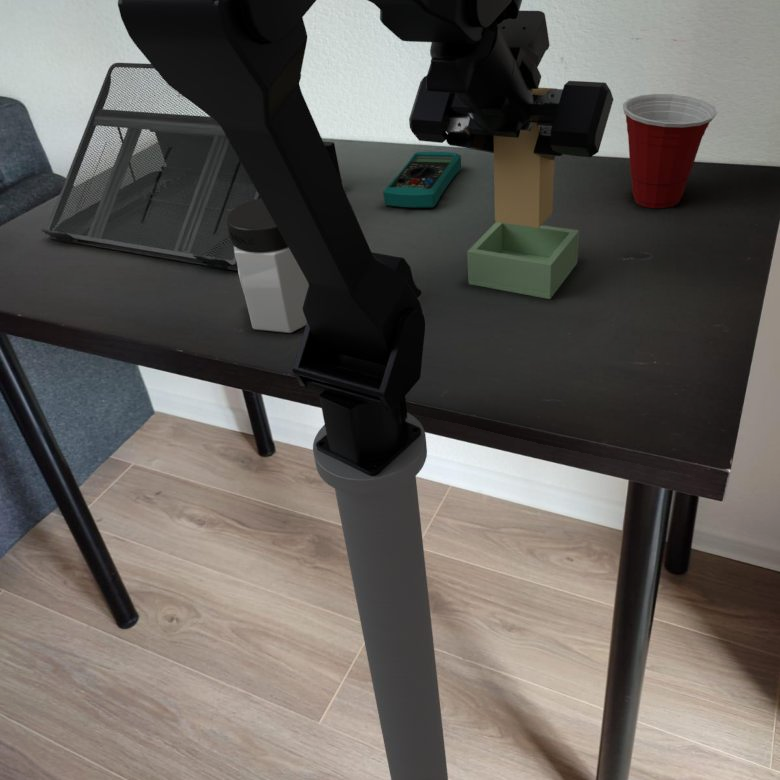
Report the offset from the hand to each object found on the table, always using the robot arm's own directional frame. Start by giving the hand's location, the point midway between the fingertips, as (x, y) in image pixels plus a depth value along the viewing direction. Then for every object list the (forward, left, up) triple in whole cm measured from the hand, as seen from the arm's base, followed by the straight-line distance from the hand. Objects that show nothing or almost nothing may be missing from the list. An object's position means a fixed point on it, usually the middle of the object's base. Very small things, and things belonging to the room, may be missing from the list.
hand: (529, 152), depth 80 cm
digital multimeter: (+14, +25, -14) cm, 32 cm away
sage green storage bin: (-1, 0, -13) cm, 13 cm away
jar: (-21, +18, -14) cm, 31 cm away
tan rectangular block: (-1, 0, -7) cm, 7 cm away
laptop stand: (-8, +49, -14) cm, 51 cm away
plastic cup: (+24, -5, -14) cm, 28 cm away
